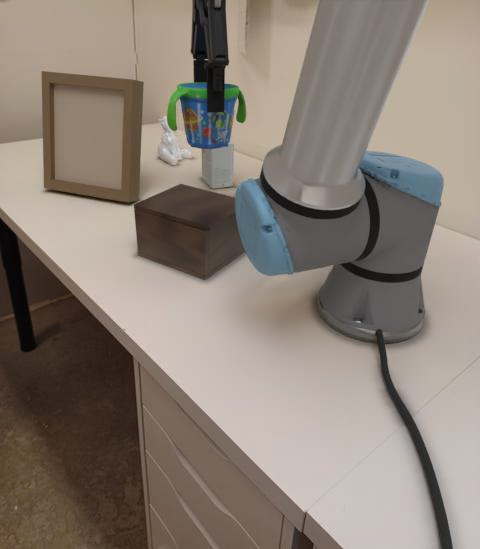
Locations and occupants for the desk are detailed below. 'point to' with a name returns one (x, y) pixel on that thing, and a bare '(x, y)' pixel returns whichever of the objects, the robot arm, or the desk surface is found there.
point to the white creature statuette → (171, 145)
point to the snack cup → (206, 115)
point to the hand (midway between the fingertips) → (208, 105)
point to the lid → (190, 206)
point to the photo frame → (92, 135)
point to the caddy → (187, 244)
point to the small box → (218, 166)
